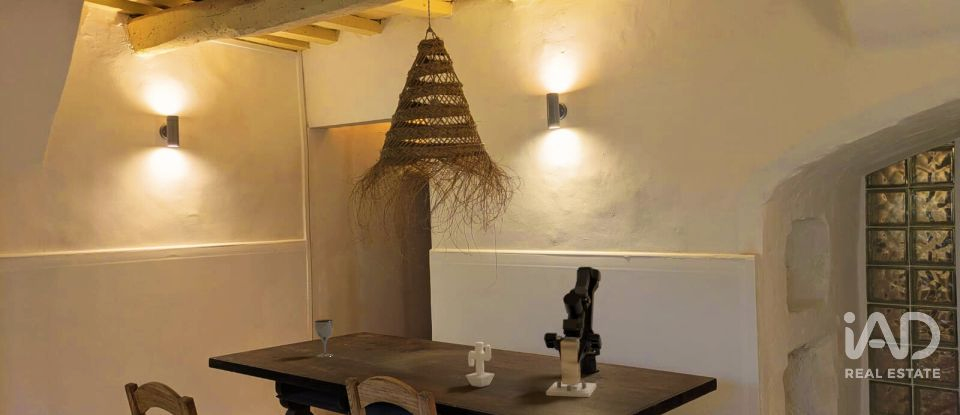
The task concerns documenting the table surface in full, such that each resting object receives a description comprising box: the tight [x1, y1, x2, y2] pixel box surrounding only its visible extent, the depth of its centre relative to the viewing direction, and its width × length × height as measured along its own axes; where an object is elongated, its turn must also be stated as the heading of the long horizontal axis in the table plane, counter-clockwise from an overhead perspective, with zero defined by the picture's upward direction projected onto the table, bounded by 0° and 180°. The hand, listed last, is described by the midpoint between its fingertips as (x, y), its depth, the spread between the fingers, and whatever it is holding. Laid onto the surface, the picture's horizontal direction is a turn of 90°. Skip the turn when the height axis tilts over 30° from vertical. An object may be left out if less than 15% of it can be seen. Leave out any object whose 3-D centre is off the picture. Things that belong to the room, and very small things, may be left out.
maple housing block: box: [560, 339, 581, 385], centre depth 266 cm, size 5×5×14 cm
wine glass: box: [313, 319, 334, 358], centre depth 343 cm, size 8×8×15 cm
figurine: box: [465, 341, 495, 388], centre depth 279 cm, size 7×9×15 cm
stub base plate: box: [545, 381, 597, 398], centre depth 266 cm, size 14×14×3 cm
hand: (569, 362), depth 265 cm, fingers closed on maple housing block, 5 cm apart
